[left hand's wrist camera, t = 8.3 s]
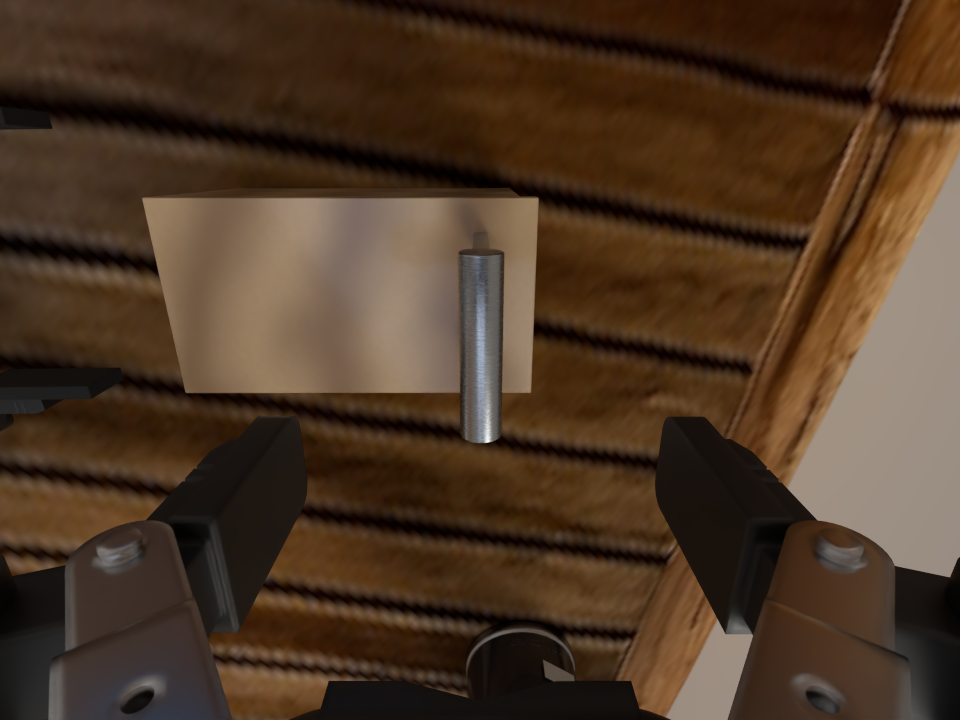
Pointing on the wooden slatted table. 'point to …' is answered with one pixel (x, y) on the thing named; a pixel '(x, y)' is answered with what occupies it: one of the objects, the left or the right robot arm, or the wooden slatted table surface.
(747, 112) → the wooden slatted table surface
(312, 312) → the lid
